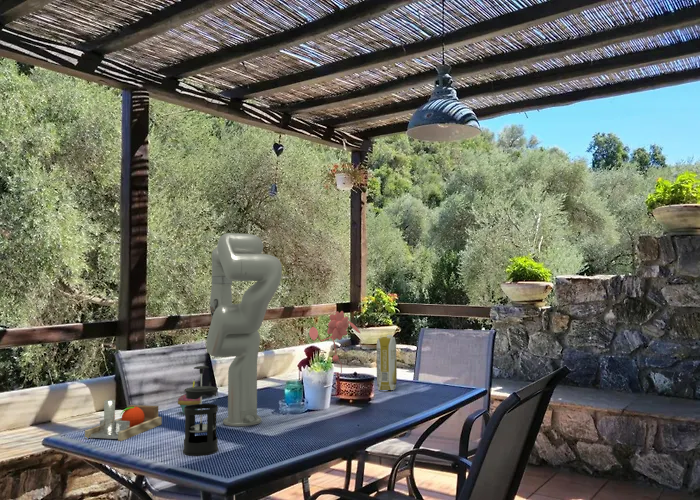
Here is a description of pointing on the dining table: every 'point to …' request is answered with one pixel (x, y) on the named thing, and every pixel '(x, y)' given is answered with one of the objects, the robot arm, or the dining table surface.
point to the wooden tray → (148, 423)
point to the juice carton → (386, 363)
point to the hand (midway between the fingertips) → (221, 327)
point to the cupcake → (188, 400)
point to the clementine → (133, 416)
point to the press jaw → (110, 423)
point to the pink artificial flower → (335, 330)
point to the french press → (200, 442)
